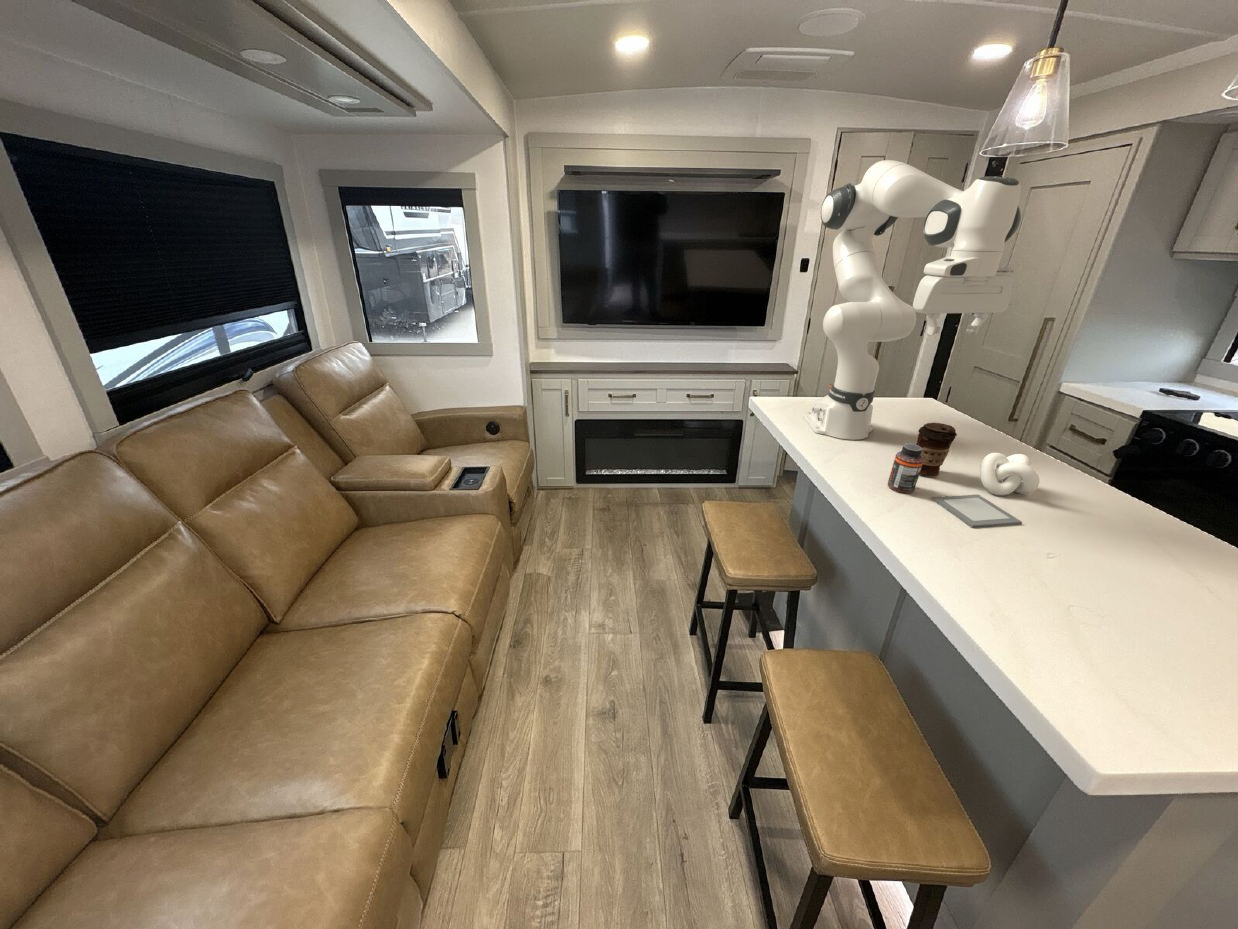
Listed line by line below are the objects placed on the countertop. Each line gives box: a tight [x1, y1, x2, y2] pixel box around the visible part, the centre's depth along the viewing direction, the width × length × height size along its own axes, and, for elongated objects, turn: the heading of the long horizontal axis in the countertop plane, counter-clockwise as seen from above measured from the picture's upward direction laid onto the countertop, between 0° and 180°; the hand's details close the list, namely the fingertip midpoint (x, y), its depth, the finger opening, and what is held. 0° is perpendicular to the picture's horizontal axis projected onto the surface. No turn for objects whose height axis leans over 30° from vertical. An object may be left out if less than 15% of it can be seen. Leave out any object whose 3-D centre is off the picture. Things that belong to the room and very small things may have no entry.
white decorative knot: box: [979, 452, 1041, 496], centre depth 118 cm, size 11×12×9 cm
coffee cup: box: [915, 422, 958, 478], centre depth 124 cm, size 9×8×13 cm
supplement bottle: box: [887, 443, 924, 494], centre depth 117 cm, size 6×6×11 cm
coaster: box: [931, 493, 1023, 529], centre depth 110 cm, size 12×12×1 cm
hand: (951, 334), depth 106 cm, fingers open, 8 cm apart
